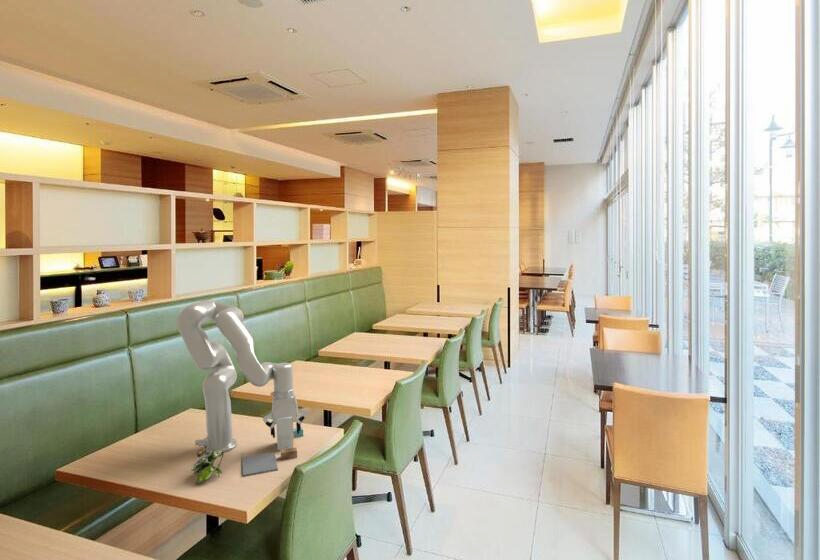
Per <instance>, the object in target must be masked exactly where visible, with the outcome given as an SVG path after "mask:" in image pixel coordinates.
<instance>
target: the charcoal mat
mask: <svg viewBox="0 0 820 560" xmlns="http://www.w3.org/2000/svg"><path fill="white" fill-rule="evenodd" d="M275 454H276V453H275V452H269V453H264V454H258V455H257V454H256V455H251V456H246V457H241V460H242V461H241V463H242V464H241V465H242V477H249V476H254V475H259V473H260V474H264V472H265V473H269V471H271V472H274V471H273V470H276V471H278V470H279V468H278V463H277V459H276V455H275Z"/></svg>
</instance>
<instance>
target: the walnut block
mask: <svg viewBox="0 0 820 560" xmlns="http://www.w3.org/2000/svg"><path fill="white" fill-rule="evenodd" d="M297 458H298V450H297V447H293V448H289V449H283V450H280V461H283V460H284V461H286V460H290V459H297Z"/></svg>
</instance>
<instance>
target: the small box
mask: <svg viewBox="0 0 820 560" xmlns="http://www.w3.org/2000/svg"><path fill="white" fill-rule="evenodd" d="M275 425H276V440H277V441H276V444H277V445H276V446H277V447H276V448H277V450H276V451H281V450H283V449H289V448H294V443H295V442H294V441H295V438H294V435H293V429H294V422H293V418H292V417H284V418H278V419H276V424H275Z"/></svg>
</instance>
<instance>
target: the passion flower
mask: <svg viewBox="0 0 820 560" xmlns="http://www.w3.org/2000/svg"><path fill="white" fill-rule="evenodd" d="M206 451H207V449H206V450H204V449H203V450H201V451H200V452H198V453H196V454H197V456H196V457H197V458H199V459H197V460H196V462H194V463H193V467H192V468H191V469H190V471H192V472H193V473H192V474H193V475H196V476H195V483H196V485H198V484H200V483H202V482H203V481H207V480H208V479H210V477H211V476H213V473H214V472H215V473H216V474H218V476H220V475H221V474H222V475H223V471H222V470H221V464H222V461H223V458H224V455H225V452H223V450H222V451H220V452H219V453H216V452H217V451H216V450H212V451H209V453H208V452H206ZM217 458H220V461H219V463H218V465H217V466H215V465H214V462H216V461H217Z"/></svg>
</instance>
